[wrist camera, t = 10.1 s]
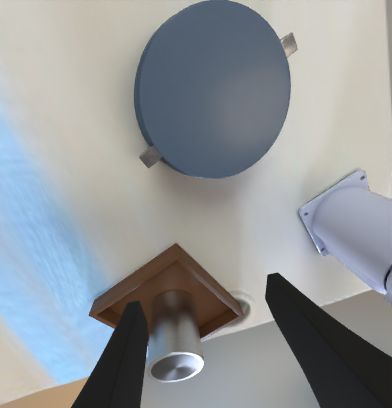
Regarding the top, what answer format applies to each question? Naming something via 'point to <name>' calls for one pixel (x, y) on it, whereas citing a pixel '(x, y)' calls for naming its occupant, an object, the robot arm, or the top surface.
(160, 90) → the lidded cooking pot
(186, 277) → the tray
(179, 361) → the cup
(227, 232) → the top surface
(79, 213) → the top surface
